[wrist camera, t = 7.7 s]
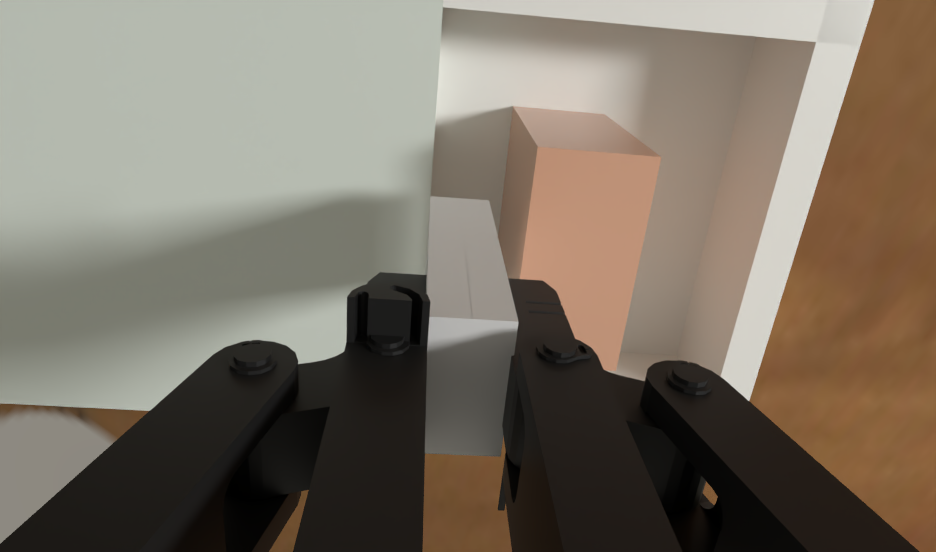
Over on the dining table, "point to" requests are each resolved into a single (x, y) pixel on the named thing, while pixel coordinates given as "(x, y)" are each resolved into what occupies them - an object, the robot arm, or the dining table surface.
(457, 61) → the box
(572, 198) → the tile
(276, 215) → the white flat block
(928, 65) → the dining table surface
